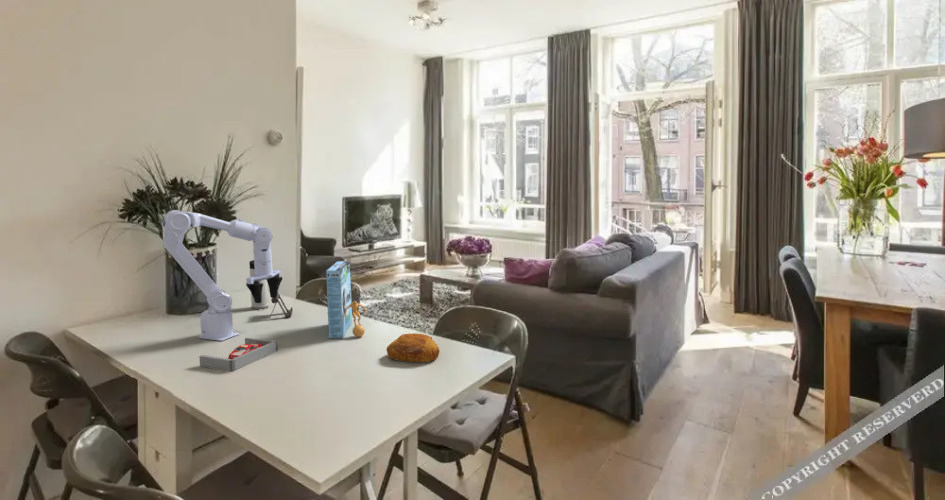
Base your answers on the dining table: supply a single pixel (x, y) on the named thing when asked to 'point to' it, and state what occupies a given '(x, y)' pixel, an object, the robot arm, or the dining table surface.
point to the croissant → (413, 348)
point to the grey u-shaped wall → (242, 360)
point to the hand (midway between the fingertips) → (266, 300)
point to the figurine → (358, 329)
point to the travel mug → (264, 291)
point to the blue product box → (339, 299)
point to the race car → (243, 350)
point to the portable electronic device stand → (275, 300)
